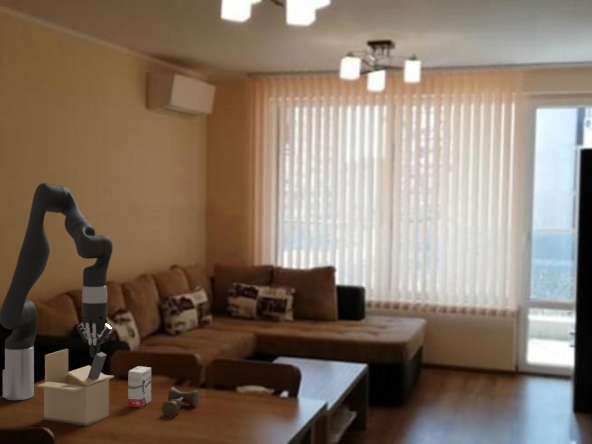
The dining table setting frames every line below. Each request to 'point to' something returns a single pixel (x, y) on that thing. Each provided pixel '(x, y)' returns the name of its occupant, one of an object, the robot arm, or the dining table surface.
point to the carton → (72, 394)
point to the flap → (91, 371)
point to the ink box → (139, 386)
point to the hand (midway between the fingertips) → (94, 356)
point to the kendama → (179, 401)
